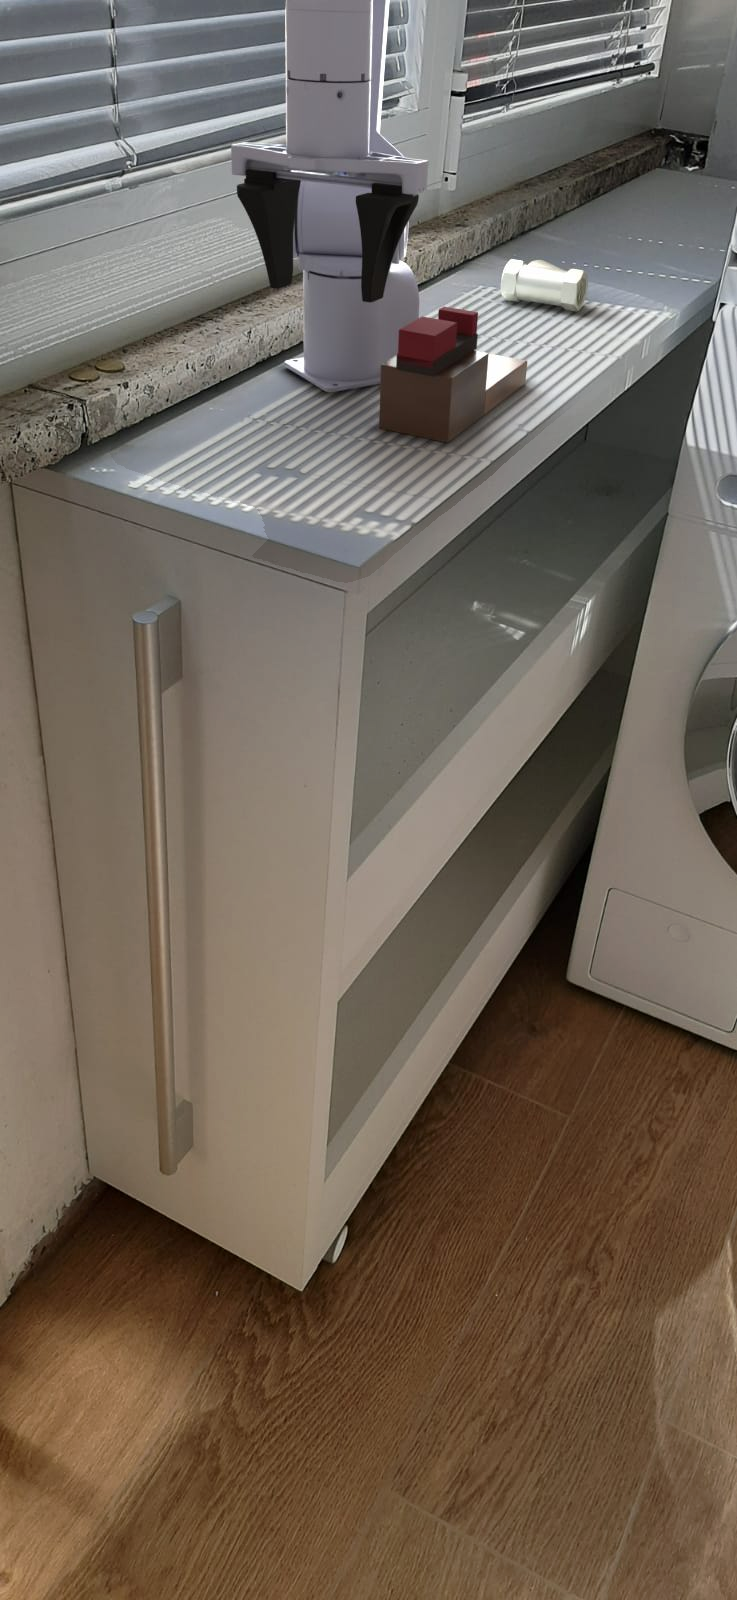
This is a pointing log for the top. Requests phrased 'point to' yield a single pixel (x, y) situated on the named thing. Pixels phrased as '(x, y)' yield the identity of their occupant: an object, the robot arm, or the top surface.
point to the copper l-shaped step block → (446, 395)
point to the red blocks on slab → (437, 341)
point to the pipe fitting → (544, 284)
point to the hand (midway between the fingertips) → (326, 292)
